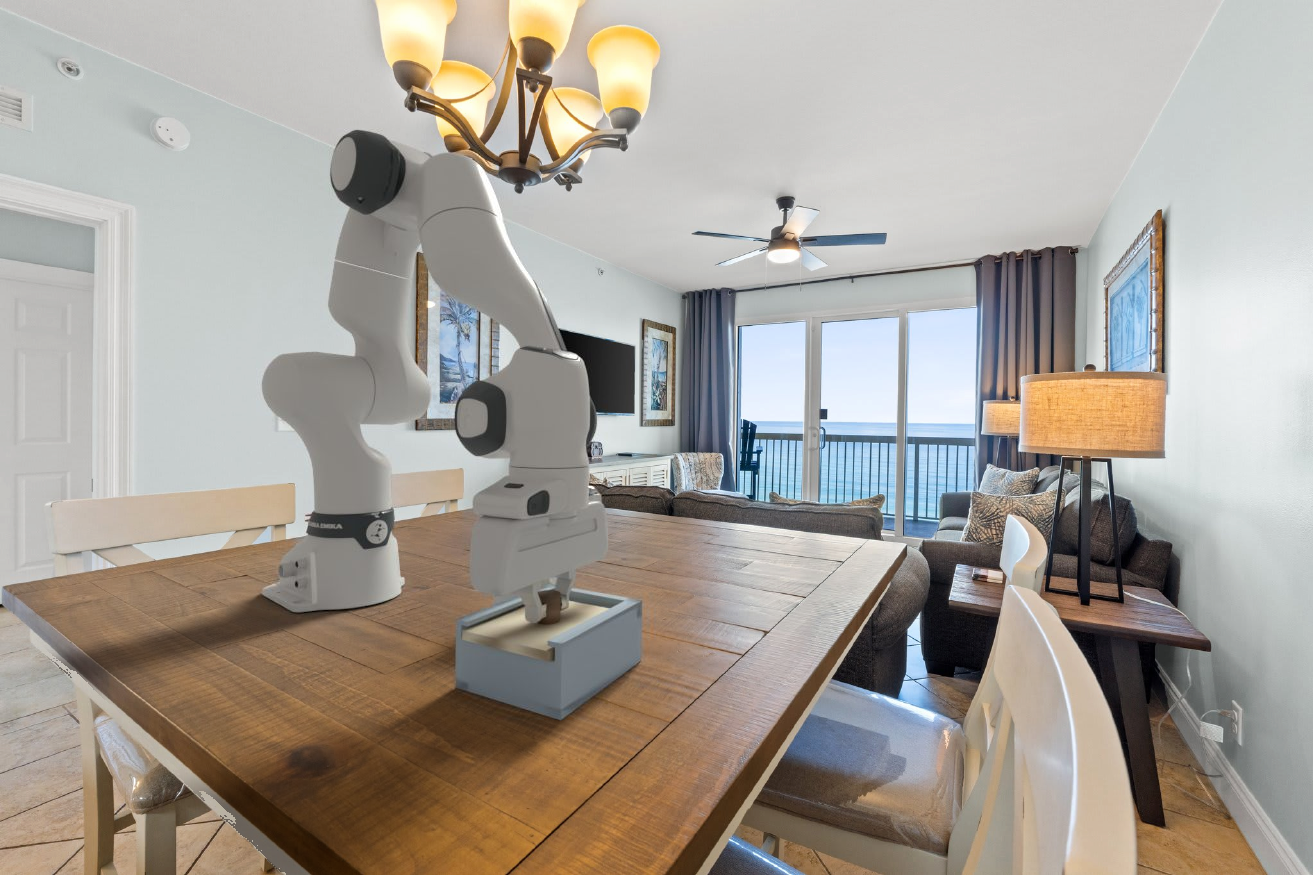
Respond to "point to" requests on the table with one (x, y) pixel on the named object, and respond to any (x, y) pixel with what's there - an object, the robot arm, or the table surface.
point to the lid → (531, 627)
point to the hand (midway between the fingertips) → (547, 614)
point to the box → (580, 657)
